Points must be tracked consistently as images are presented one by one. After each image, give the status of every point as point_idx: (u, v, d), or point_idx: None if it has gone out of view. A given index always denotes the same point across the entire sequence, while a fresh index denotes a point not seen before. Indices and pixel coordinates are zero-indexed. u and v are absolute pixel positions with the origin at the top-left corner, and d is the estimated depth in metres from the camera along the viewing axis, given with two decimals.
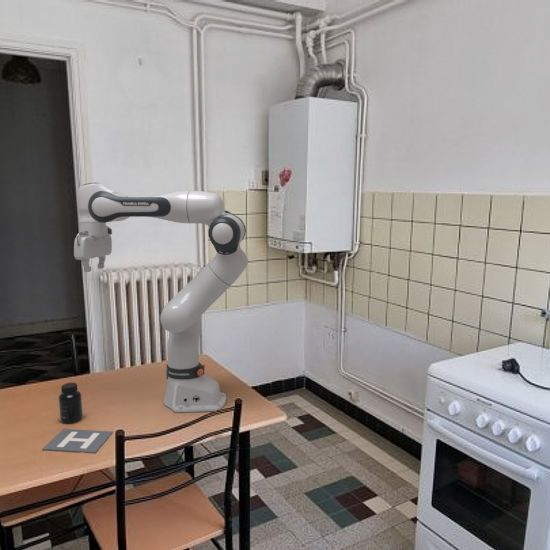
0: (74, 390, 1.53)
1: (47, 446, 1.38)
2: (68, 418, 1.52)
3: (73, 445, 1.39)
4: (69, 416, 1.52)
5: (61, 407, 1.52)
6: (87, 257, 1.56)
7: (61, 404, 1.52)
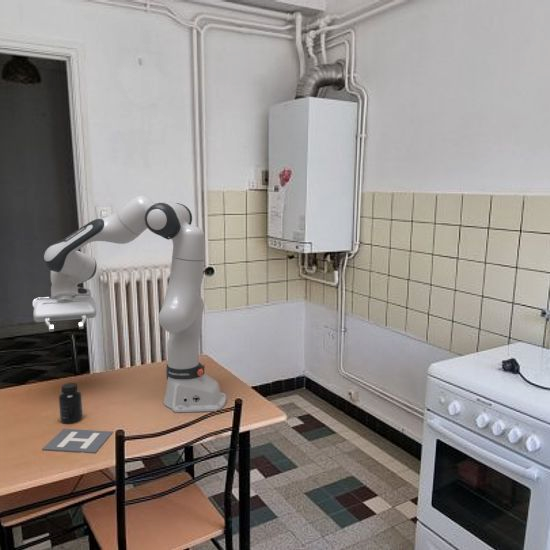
0: (74, 390, 1.53)
1: (47, 446, 1.38)
2: (68, 418, 1.52)
3: (73, 445, 1.39)
4: (69, 416, 1.52)
5: (61, 407, 1.52)
6: (40, 315, 1.60)
7: (61, 404, 1.52)
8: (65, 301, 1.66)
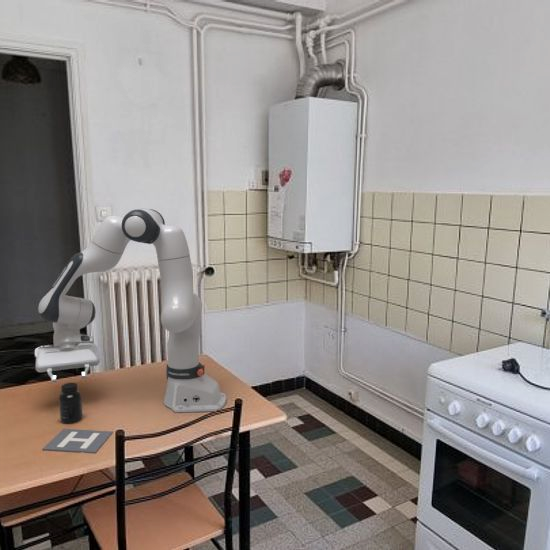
0: (74, 390, 1.53)
1: (47, 446, 1.38)
2: (68, 418, 1.52)
3: (73, 445, 1.39)
4: (69, 416, 1.52)
5: (61, 407, 1.52)
6: (43, 366, 1.57)
7: (61, 404, 1.52)
8: (68, 349, 1.63)
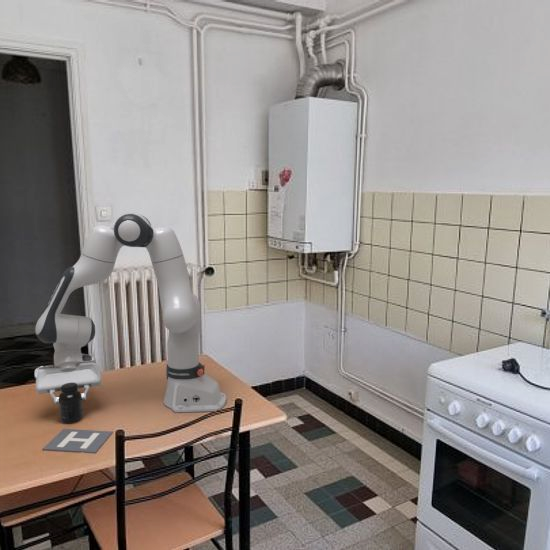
0: (74, 390, 1.53)
1: (47, 446, 1.38)
2: (68, 418, 1.52)
3: (73, 445, 1.39)
4: (69, 416, 1.52)
5: (61, 407, 1.52)
6: (43, 387, 1.52)
7: (61, 404, 1.52)
8: (69, 370, 1.58)
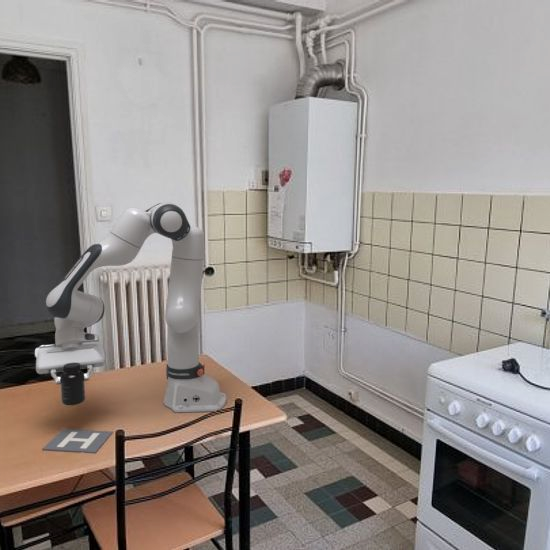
0: (77, 370, 1.45)
1: (47, 446, 1.38)
2: (70, 399, 1.44)
3: (73, 445, 1.39)
4: (71, 397, 1.44)
5: (63, 388, 1.44)
6: (44, 367, 1.44)
7: (63, 384, 1.43)
8: (71, 349, 1.50)
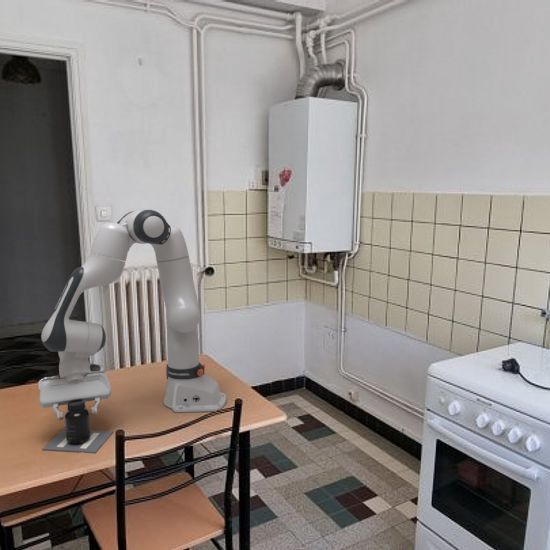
0: (81, 408, 1.39)
1: (47, 446, 1.38)
2: (75, 439, 1.39)
3: (73, 445, 1.39)
4: (76, 436, 1.38)
5: (67, 427, 1.38)
6: (47, 401, 1.38)
7: (67, 423, 1.38)
8: (75, 381, 1.44)
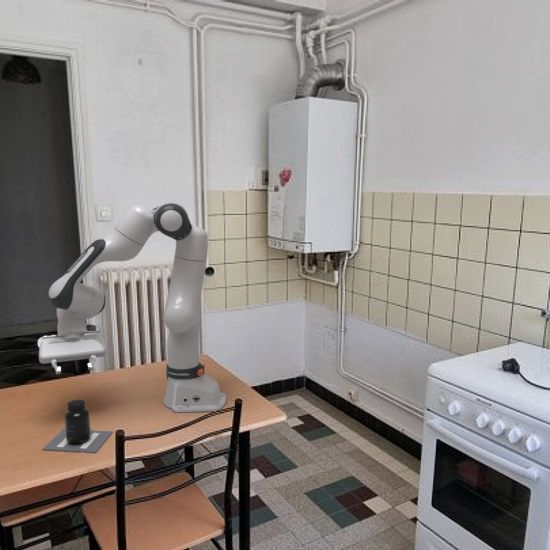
0: (81, 408, 1.39)
1: (47, 446, 1.38)
2: (75, 439, 1.39)
3: (73, 445, 1.39)
4: (76, 436, 1.38)
5: (67, 427, 1.38)
6: (46, 356, 1.48)
7: (67, 423, 1.38)
8: (73, 340, 1.54)
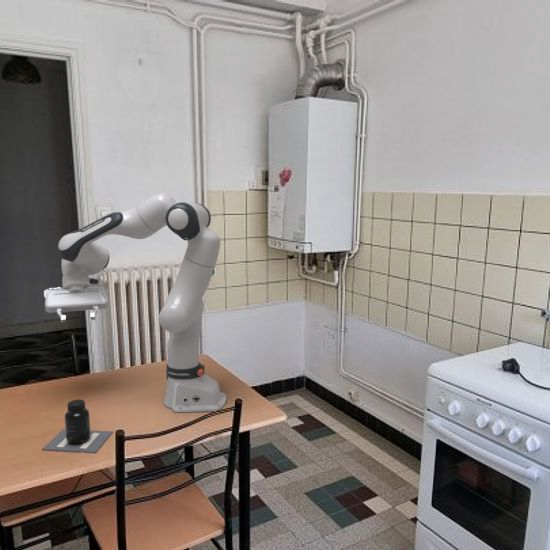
0: (81, 408, 1.39)
1: (47, 446, 1.38)
2: (75, 439, 1.39)
3: (73, 445, 1.39)
4: (76, 436, 1.38)
5: (67, 427, 1.38)
6: (52, 305, 1.58)
7: (67, 423, 1.38)
8: (77, 292, 1.64)
